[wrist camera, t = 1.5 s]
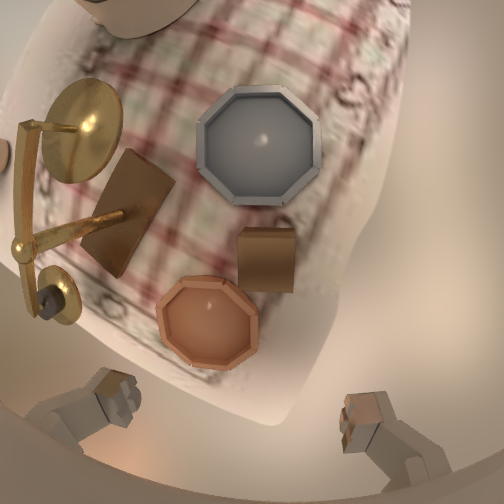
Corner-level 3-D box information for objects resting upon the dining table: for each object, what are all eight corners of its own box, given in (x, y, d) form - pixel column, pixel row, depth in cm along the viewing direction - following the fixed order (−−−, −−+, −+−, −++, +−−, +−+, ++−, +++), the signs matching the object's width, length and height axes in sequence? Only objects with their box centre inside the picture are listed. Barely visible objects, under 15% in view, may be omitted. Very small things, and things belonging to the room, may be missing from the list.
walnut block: (245, 227, 29) (237, 237, 24) (293, 228, 28) (295, 238, 23) (245, 272, 30) (238, 290, 25) (291, 273, 30) (293, 292, 25)
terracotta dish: (157, 272, 31) (151, 278, 30) (259, 277, 30) (257, 283, 28) (170, 355, 34) (165, 362, 33) (258, 364, 33) (257, 373, 31)
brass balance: (159, 104, 26) (30, 50, 8) (207, 135, 26) (89, 83, 8) (73, 275, 33) (-25, 335, 15) (106, 306, 34) (14, 386, 15)
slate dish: (202, 94, 25) (197, 89, 24) (317, 91, 24) (319, 86, 22) (202, 203, 28) (197, 205, 27) (318, 204, 27) (320, 206, 25)
